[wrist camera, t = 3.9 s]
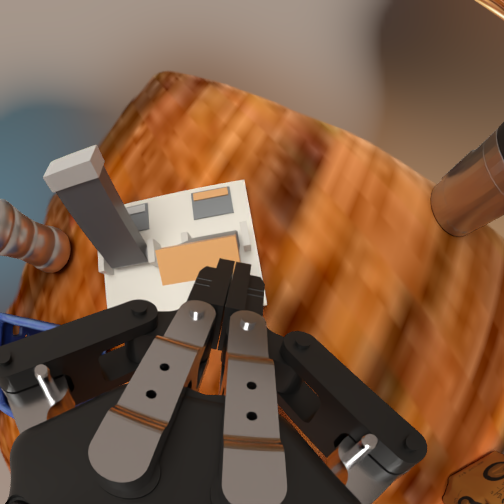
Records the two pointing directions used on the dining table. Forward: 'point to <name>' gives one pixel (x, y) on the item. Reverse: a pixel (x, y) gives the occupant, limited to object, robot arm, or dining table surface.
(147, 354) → the robot arm
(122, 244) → the lever grey
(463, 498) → the coffee package
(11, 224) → the plastic bottle
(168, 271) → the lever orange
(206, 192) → the switch unit
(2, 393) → the flower pot
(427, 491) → the dining table surface
